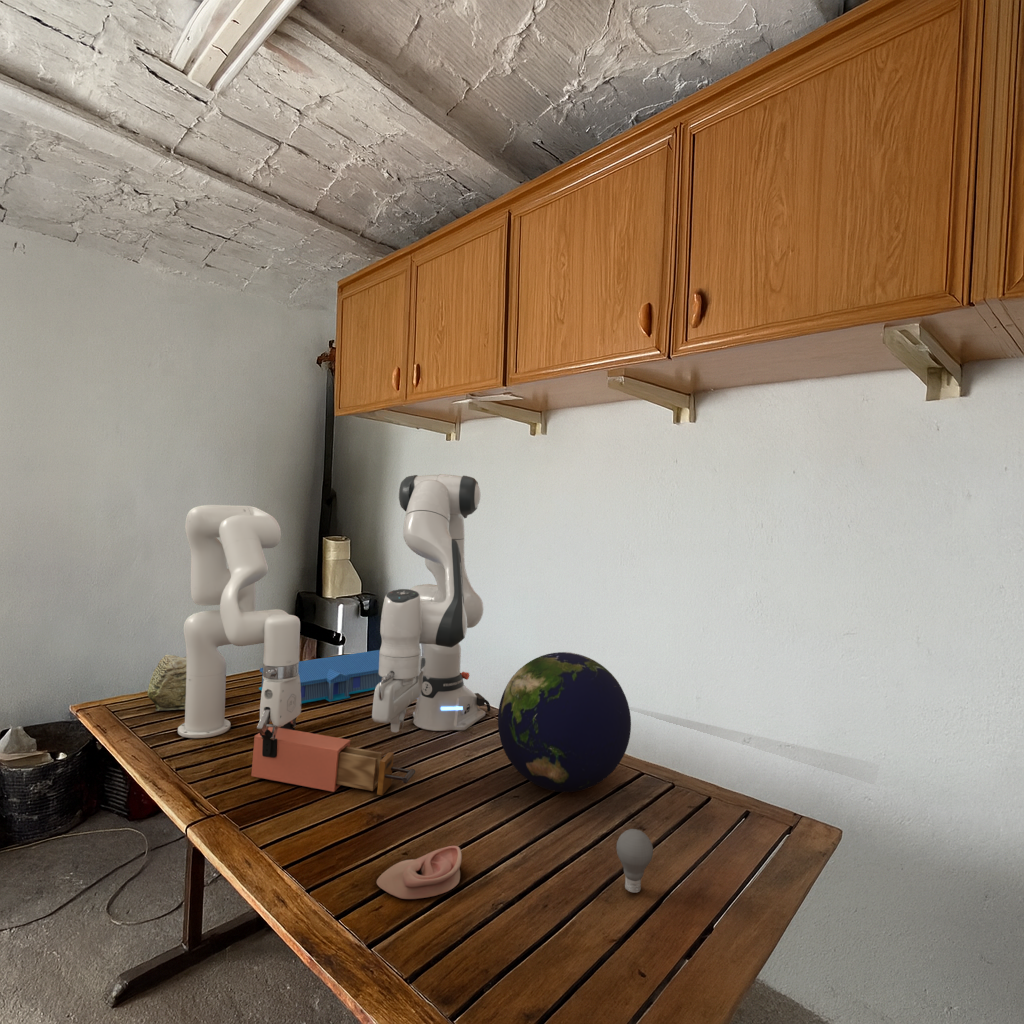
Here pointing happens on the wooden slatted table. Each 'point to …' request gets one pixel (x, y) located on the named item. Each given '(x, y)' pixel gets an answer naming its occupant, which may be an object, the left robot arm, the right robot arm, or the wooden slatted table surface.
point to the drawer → (368, 770)
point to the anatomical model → (423, 874)
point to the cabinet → (300, 759)
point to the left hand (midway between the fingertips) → (278, 749)
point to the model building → (338, 676)
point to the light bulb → (634, 857)
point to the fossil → (169, 683)
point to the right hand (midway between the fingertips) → (397, 729)
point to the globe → (564, 722)
